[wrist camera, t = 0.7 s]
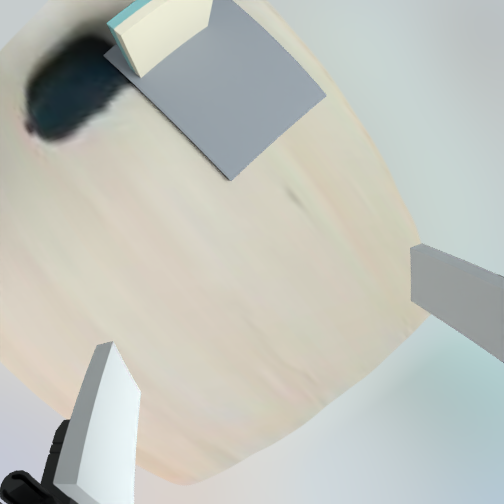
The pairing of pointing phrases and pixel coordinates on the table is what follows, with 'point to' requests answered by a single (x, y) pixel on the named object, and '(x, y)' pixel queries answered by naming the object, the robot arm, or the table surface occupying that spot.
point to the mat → (228, 88)
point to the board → (157, 29)
